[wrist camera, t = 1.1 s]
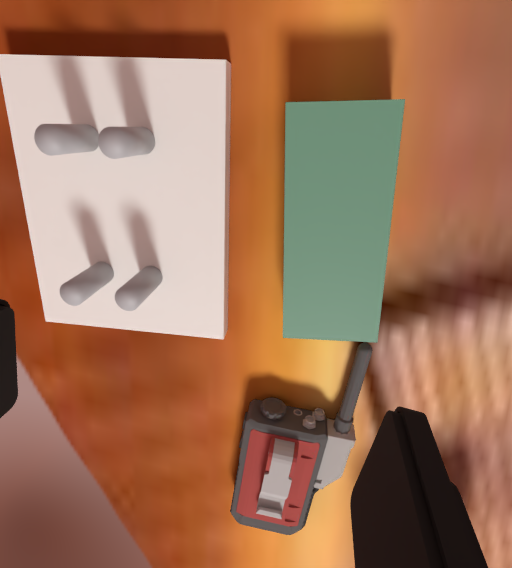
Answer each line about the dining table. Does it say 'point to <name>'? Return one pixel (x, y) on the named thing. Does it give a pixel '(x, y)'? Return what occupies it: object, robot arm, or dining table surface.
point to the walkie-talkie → (292, 456)
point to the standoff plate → (125, 187)
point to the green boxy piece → (338, 215)
